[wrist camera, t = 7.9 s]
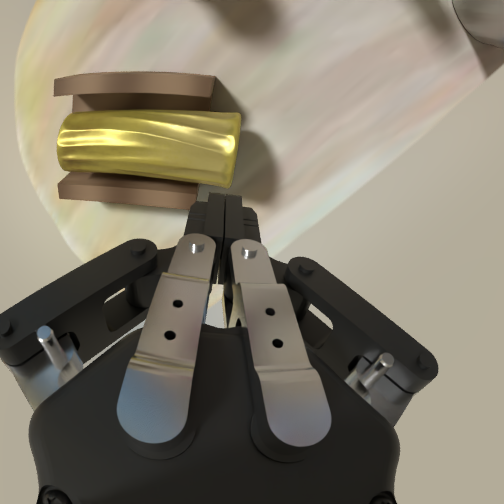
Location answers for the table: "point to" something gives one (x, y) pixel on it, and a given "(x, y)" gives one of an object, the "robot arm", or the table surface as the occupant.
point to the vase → (152, 144)
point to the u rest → (133, 98)
